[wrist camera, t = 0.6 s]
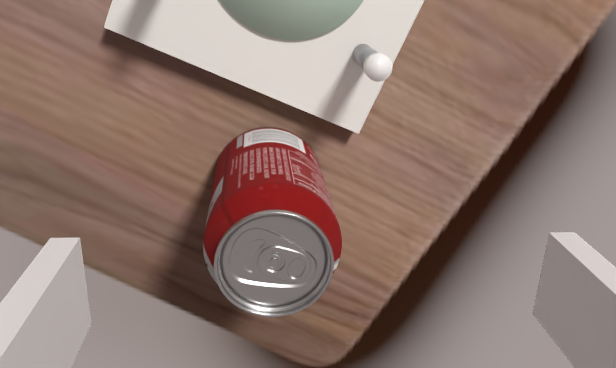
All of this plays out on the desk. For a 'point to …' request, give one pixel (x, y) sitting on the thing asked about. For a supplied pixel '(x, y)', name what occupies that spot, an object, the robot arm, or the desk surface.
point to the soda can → (270, 224)
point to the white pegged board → (281, 46)
